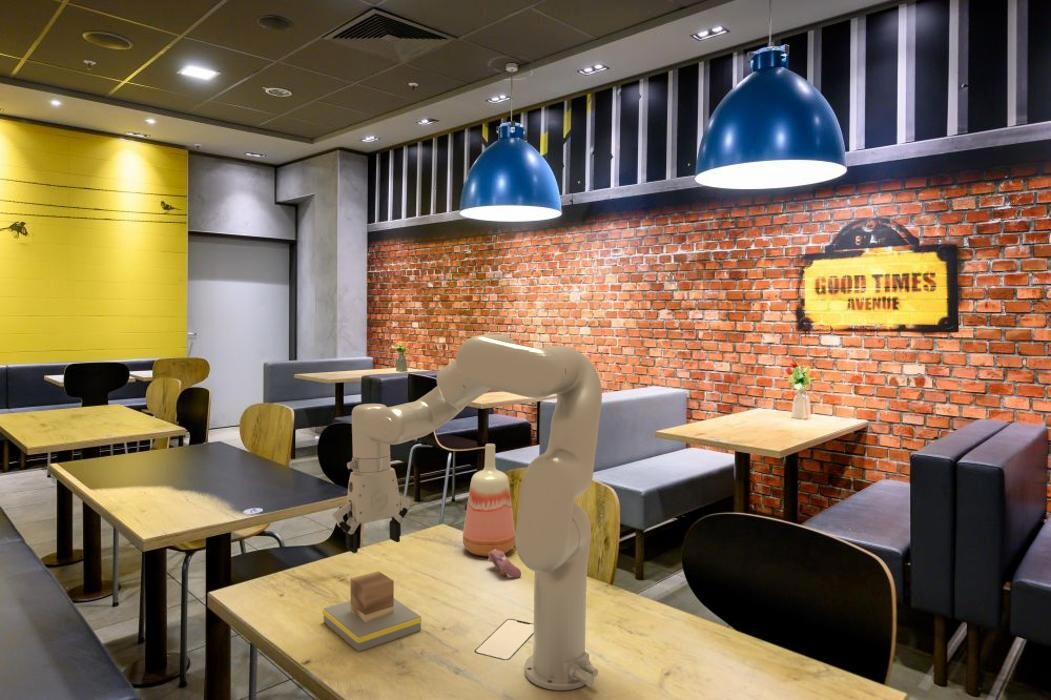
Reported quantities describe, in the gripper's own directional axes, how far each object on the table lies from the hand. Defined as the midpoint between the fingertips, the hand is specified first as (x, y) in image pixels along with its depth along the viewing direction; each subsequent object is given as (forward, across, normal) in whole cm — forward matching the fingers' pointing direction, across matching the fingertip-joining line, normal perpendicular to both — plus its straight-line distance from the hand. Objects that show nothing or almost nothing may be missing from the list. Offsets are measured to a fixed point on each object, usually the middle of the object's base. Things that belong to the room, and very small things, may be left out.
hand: (374, 545), depth 141 cm
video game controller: (+18, +39, +7) cm, 44 cm away
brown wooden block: (+14, 0, +1) cm, 14 cm away
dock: (+17, 0, +1) cm, 17 cm away
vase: (+18, +46, +21) cm, 53 cm away
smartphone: (+19, +18, -21) cm, 34 cm away
